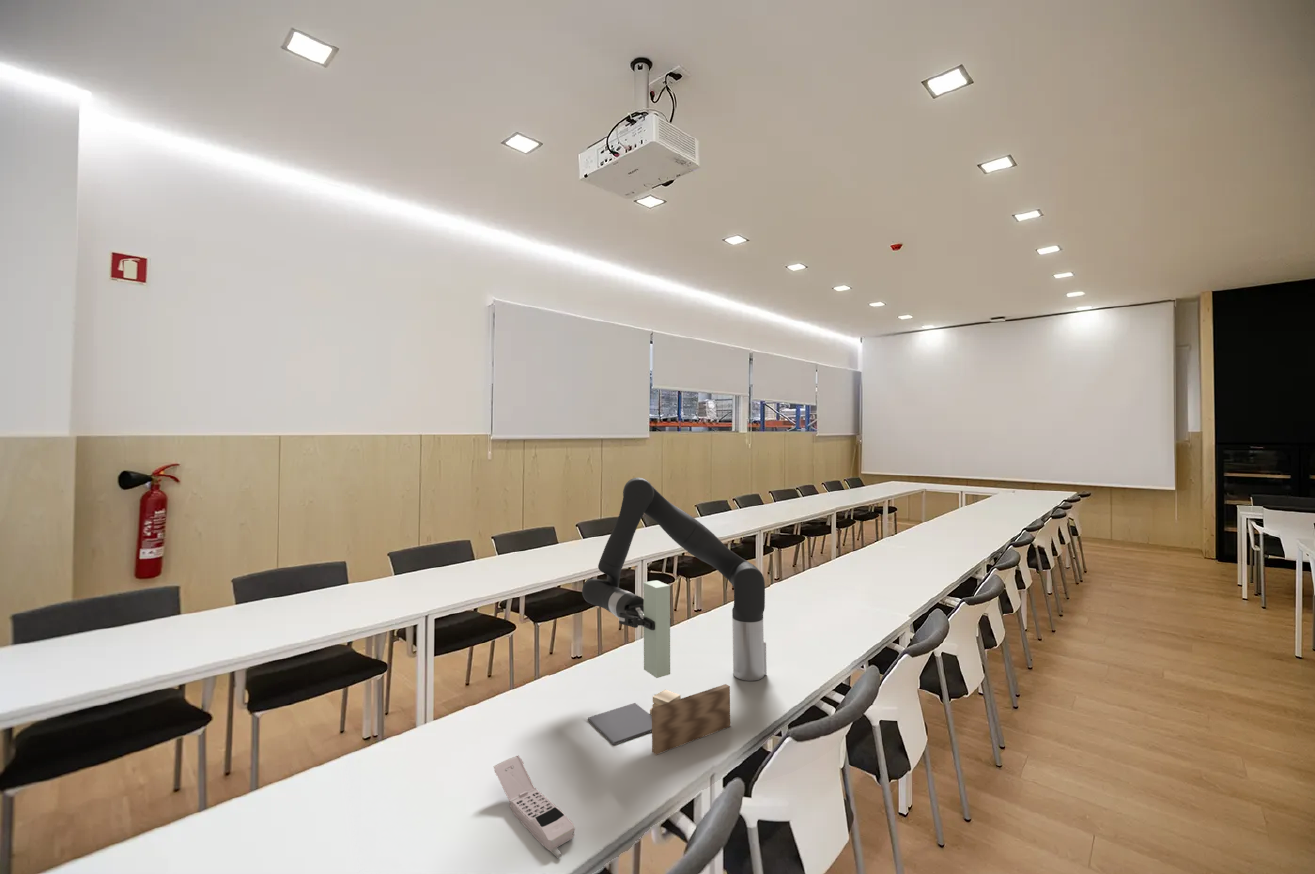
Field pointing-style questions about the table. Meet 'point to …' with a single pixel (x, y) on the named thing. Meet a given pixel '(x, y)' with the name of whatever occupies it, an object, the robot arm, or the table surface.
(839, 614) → the table surface
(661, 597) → the sage green pillar
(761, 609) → the robot arm
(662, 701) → the offcut stack
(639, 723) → the charcoal mat
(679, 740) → the walnut rack
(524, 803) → the mobile phone
